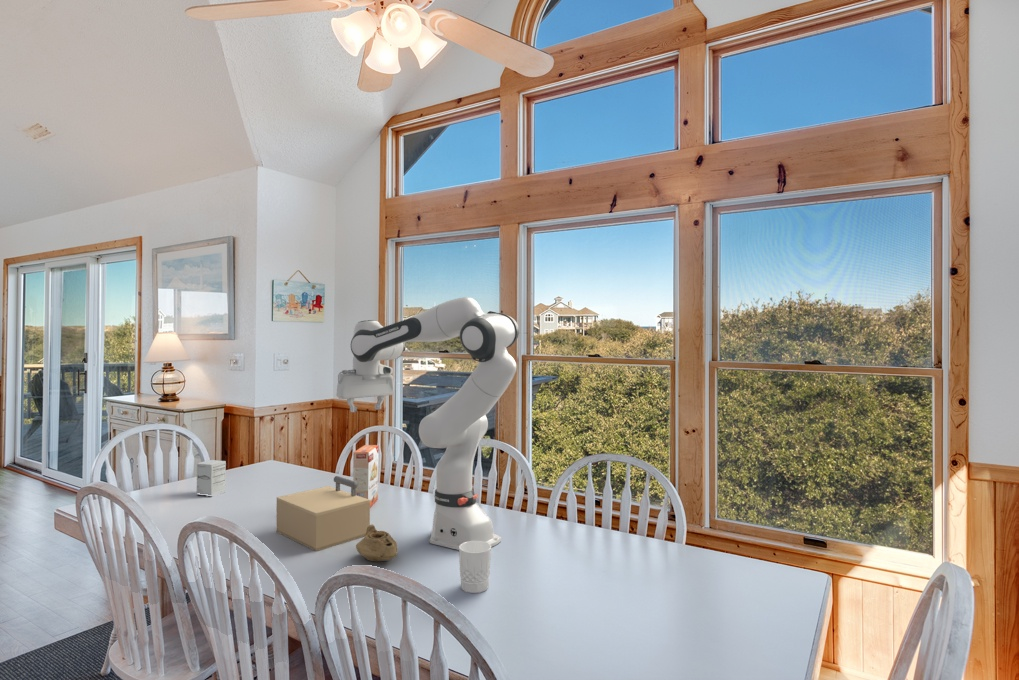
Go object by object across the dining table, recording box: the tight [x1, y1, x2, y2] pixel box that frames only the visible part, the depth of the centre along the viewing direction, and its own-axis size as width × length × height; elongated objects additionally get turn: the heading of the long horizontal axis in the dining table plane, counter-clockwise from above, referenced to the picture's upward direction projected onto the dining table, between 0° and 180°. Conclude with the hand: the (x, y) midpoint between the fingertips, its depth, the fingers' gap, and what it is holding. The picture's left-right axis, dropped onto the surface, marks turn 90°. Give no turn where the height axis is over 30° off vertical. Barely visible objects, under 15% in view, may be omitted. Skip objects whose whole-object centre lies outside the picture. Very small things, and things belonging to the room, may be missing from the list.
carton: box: [275, 499, 371, 552], centre depth 173 cm, size 24×18×10 cm
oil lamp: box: [355, 523, 398, 562], centre depth 153 cm, size 11×15×8 cm
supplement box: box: [196, 459, 227, 495], centre depth 216 cm, size 7×7×13 cm
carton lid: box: [276, 475, 370, 516], centre depth 173 cm, size 24×18×6 cm
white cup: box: [458, 541, 492, 594], centre depth 136 cm, size 8×8×10 cm
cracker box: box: [352, 444, 380, 508], centre depth 202 cm, size 14×6×21 cm, turn 179°
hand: (365, 410), depth 184 cm, fingers open, 8 cm apart
